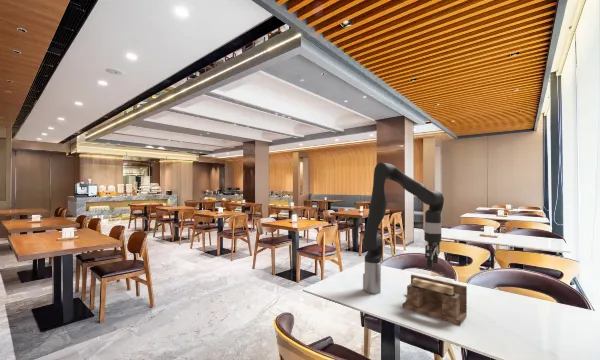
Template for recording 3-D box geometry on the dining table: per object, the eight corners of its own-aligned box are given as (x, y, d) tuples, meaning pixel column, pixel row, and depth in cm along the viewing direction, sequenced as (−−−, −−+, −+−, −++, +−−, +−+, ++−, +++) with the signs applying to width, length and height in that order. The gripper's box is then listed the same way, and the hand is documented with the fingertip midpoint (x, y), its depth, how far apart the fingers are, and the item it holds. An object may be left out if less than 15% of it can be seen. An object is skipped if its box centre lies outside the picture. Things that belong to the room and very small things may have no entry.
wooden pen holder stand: (402, 307, 143) (402, 279, 143) (411, 300, 152) (411, 274, 152) (460, 325, 125) (460, 293, 125) (466, 315, 134) (466, 286, 134)
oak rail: (412, 294, 142) (412, 279, 142) (414, 292, 144) (414, 278, 144) (451, 304, 130) (451, 288, 130) (453, 302, 132) (453, 286, 132)
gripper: (429, 229, 145) (429, 260, 145) (419, 232, 135) (419, 266, 134) (445, 231, 140) (445, 263, 140) (436, 234, 130) (436, 269, 129)
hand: (432, 265), depth 137 cm, fingers open, 8 cm apart
